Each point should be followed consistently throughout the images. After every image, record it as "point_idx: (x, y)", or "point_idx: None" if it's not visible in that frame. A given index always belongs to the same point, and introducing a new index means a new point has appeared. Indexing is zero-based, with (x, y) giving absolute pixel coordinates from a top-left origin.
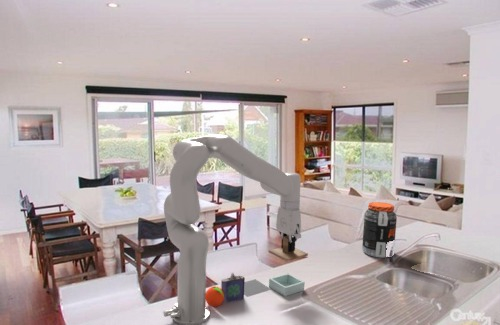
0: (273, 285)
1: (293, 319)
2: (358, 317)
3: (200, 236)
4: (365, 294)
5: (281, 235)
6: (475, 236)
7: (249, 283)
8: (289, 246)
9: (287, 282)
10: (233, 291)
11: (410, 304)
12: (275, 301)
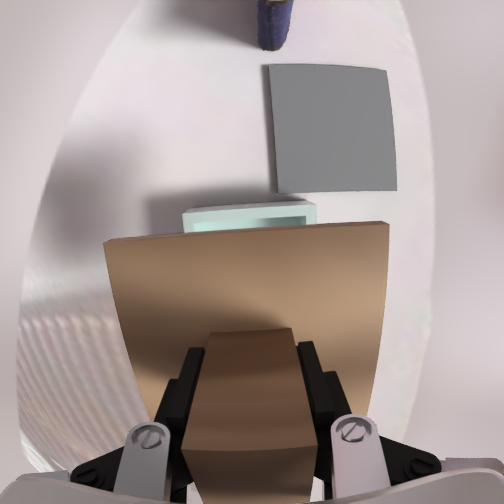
0: (276, 204)
1: (62, 150)
2: (28, 330)
3: None
4: (124, 434)
5: (364, 448)
6: None
7: (374, 141)
8: (179, 387)
9: None
10: None
11: (68, 449)
12: (186, 154)
